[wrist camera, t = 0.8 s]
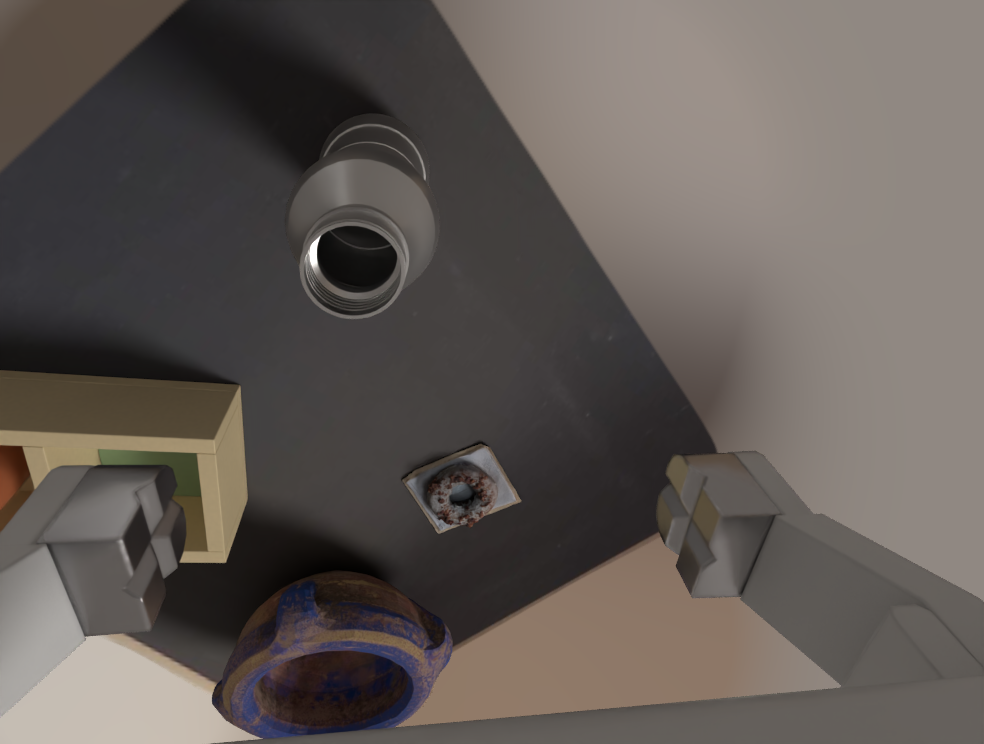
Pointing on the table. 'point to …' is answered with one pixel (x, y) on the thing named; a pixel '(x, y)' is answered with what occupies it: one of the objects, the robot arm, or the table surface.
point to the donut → (461, 488)
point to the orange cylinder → (12, 472)
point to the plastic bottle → (363, 217)
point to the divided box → (136, 441)
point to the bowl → (332, 659)
